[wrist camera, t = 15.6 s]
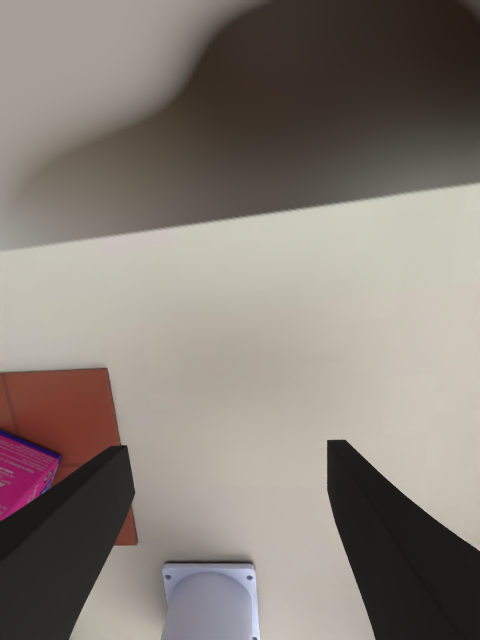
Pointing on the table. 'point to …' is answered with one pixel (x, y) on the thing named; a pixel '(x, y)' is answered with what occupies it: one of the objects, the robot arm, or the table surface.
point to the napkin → (64, 419)
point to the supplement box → (23, 472)
